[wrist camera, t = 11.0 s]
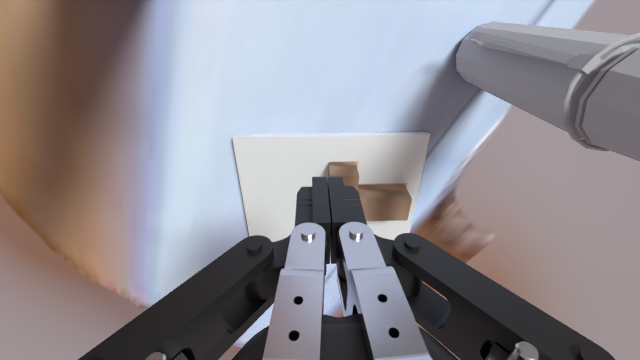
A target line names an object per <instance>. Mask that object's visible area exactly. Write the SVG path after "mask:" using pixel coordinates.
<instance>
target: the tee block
mask: <svg viewBox="0 0 640 360" xmlns="http://www.w3.org/2000/svg"><path fill="white" fill-rule="evenodd" d="M328 176H342V178H343V183H344V186H353V187H354V188H355V189H356V190H357V191H358V192H359V196H360V200H361V203H362V207H363V211H364V215H365V219H366V221H406V220H408V216H409V211H410V206H411V202H412V198H411V196H410V194H409V192H408V190H407V188H406V186H405V184H376V185H359V173H358V169H357V166H356V162H329V169H328Z"/></svg>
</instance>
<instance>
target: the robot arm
mask: <svg viewBox="0 0 640 360" xmlns="http://www.w3.org/2000/svg"><path fill="white" fill-rule="evenodd" d="M296 200H297V201H296V214H295V227H294V229H293V230H292V232H291V234H290V235H289V236H288V237H286V238H284V239H282V240H279V241H275V242H272V241H271V240H270V239H269V238H267V237H265V236H261V235H254V236H250V237H247V238H245V239H243V240H242V241H240V242H239V243H238V244H236V245H235V246H234V247H232V248H231V249H229V250H228V251H227V252H225V253H224V254H223V255H221V256H220V257H218V258H217V259H216V260H214V261H213V262H212V263H210V264H209V265H207V266H206V267H205V268H203V269H202V270H201V271H199V272H198V273H196V274H195V275H194V276H192V277H191V278H190V279H188V280H187V281H185V282H184V283H183V284H181V285H180V286H179V287H177V288H176V289H174V290H173V291H172V292H170V293H169V294H168V295H166V296H165V297H163V298H162V299H161V300H159V301H158V302H157V303H155V304H154V305H152V306H151V307H150V308H148V309H147V310H146V311H144V312H143V313H142V314H140V315H139V316H137V317H136V318H135V319H133V320H132V321H130V322H129V323H128V324H126V325H125V326H124V327H122V328H121V329H119V330H118V331H117V332H115V333H114V334H113V335H111V336H110V337H108V338H107V339H106V340H104V341H103V342H102V343H100V344H99V345H97V346H96V347H95V348H93V349H92V350H91V351H89V352H88V353H86V354H85V355H84V356H82V357H81V358H80V359H78V360H218V359H219V358H220V357H221V356H222V355H223V354H224V353H225V352H226V351H227V350H228V349H229V348H230V347H231V346H232V345H233V344H234V343H235V342H236V341H237V340H238V339H239V338H240V337H241V336H242V335H243V334H244V333H245V332H246V330H247V329H248V328H249V327H250V326H251V325H252V324H253V323H254V322H255V321H256V320H257V319H258V318H259V317H260V316H261V315H262V314H263V313H264V312H265V311H266V310H267V309H268V308H269V307H270V306H271V305H272V304H273V303H274V306H273V310H272V315H271V320H270V325H269V326H268V327H266V328H264V329H263V330H261V331H260V332H258V333H257V334H256V335H254V336H253V337H252V338H251V339H250V340H249V341H248V342H247V343H246V344H245V345H244V346H243V348H242V349H241V350H240V351H239V352H238V353H237V354H236V355H235V357H234V358H233V359H232V360H458V359H457V358H456V357H455V356H454V355H453V354H452V353H454V354H455V355H456V356H457V357H458V358H460V359H461V360H615V359H614V358H613V356H611V355H610V354H609V353H608V352H607V351H606V350H604V349H603V348H602V347H600V346H599V345H597V344H595V343H594V342H592V341H591V340H589V339H587V338H586V337H584V336H582V335H581V334H579V333H578V332H576V331H574V330H573V329H571V328H569V327H568V326H566V325H564V324H563V323H561V322H559V321H558V320H556V319H555V318H553V317H551V316H550V315H548V314H547V313H545V312H543V311H542V310H540V309H538V308H537V307H535V306H534V305H532V304H530V303H529V302H527V301H525V300H524V299H522V298H520V297H519V296H517V295H515V294H514V293H512V292H511V291H509V290H507V289H506V288H504V287H503V286H501V285H499V284H498V283H496V282H494V281H493V280H491V279H490V278H488V277H486V276H485V275H483V274H482V273H480V272H478V271H477V270H475V269H473V268H472V267H470V266H468V265H467V264H465V263H464V262H462V261H460V260H459V259H457V258H455V257H454V256H452V255H451V254H449V253H447V252H446V251H444V250H442V249H441V248H439V247H438V246H436V245H434V244H433V243H431V242H429V241H428V240H426V239H425V238H423V237H421V236H419V235H417V234H413V233H403V234H400V235H398V236H397V237H396V238H395V239H394V240H390V239H386V238H382V237H379V236H377V235H375V234H374V233H373V231H372V229H371V228H370V227H369V226H367V223H366V219H365V215H364V211H363V207H362V203H361V200H360V196H359V192H358V191H357V190H356V189H355V188H354V187H353V186H344V183H343V178H342V176H328V177H312V187H301V188H300V189H299V191H298V192H297V199H296ZM330 255H331V264H336V263H337V283H338V288H339V293H340V299H341V304H342V309H343V314H344V317H341V318H338V317H333V316H328V315H323V309H324V283H325V275H326V264H330ZM422 281H424V282H425V283H427V284H428V285H429V286H431V287H432V288H434V289H435V290H436V291H438V292H439V293H440V294H442V295H443V296H445V297H446V298H447V300H448V301H449V302H448V301H447V300H446V299H444V298H443V297H441V296H440V295H439V294H437V293H436V292H435V291H433V290H432V289H431V288H429V287H428V286H427V285H425V284H424V283H422ZM416 322H417V323H418V324H419V325H421V326H422V327H423V328H424V329H425V330H426V331H428V332H429V333H430V334H431V335H433V336H434V337H435V338H436V339H437V340H439V341H440V342H441V343H442V344H443V345H444V346H445V347H447V348H448V349H449V350H450V351H451V352H452V353H450V352H449V351H448V350H447V349H446V348H445V347H444V346H443V345H441V344H440V343H439V342H438V341H437V340H436V339H435V338H434V337H433V336H431V335H430V334H429V333H427V332H426V331H425V330H423V329H422V328H420V327H418V326H417V323H416Z"/></svg>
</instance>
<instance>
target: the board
mask: <svg viewBox="0 0 640 360" xmlns="http://www.w3.org/2000/svg"><path fill="white" fill-rule="evenodd" d="M429 139H430V134H429V133H428V132H383V133H302V134H234V135H233V137H232V140H233V145H234V151H235V157H236V162H237V168H238V174H239V180H240V185H241V191H242V197H243V202H244V208H245V214H246V220H247V225H248V231H249V237H250V236H254V235H261V236H265V237H267V238H269V239H270V240H271V241H272V242H275V241H279V240H282V239H284V238H286V237H288V236H289V235H290V234H291V232H292V230H293V229H294V227H295V214H296V201H297V200H296V199H297V192H298V191H299V189H300V188H301V187H312V177H328V169H329V162H356V166H357V169H358V173H359V185H376V184H405V186H406V188H407V190H408V192H409V194H410V196H411V198H412V202H411V206H410V211H409V216H408V220H406V221H366V223H367V226H369V227H370V228H371V229H372V231H373V233H374V234H375V235H377V236H379V237H382V238H386V239H390V240H394V239H395V238H396V237H397V236H398V235H400V234H403V233H410V228H411V223H412V219H413V214H414V209H415V205H416V200H417V195H418V191H419V186H420V181H421V177H422V172H423V167H424V163H425V158H426V153H427V148H428V144H429Z"/></svg>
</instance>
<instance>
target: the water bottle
mask: <svg viewBox="0 0 640 360" xmlns="http://www.w3.org/2000/svg"><path fill="white" fill-rule="evenodd" d="M456 70H457V72H458V73H459V74H460V76H461V77H462V78H463V80H464V81H466V82H468V83H470V84H472V85H474V86H476V87H478V88H480V89H482V90H484V91H486V92H488V93H490V94H492V95H494V96H496V97H498V98H500V99H502V100H504V101H506V102H508V103H510V104H512V105H514V106H516V107H518V108H520V109H522V110H524V111H526V112H528V113H530V114H532V115H534V116H536V117H538V118H541V119H543V120H544V121H546V122H548V123H550V124H552V125H554V126H556V127H558V128H560V129H562V130H564V131H566V132H568V133H569V134H570V136H571V138H572V139H573V140H575V141H576V142H578V143H579V144H580V145H582V146H583V147H585V148H588V149H594V150H600V151H613V152H616V153H618V154H621V155H624V156H627V157H629V158H632V159H635V160H637V161H640V33H636V34H633V35H623V34H612V33H602V32H592V31H582V30H572V29H562V28H552V27H542V26H531V25H521V24H511V23H501V22H490V23H487V24H483V25H480V26H477V27H476V28H475V29H473V30H472V31H471V32H470V33H469V34H468V35H467V36H466V37H465V38H464V39H463V40H462V42H461V45H460V47H459V49H458V51H457V53H456ZM580 138H583V140H584V141H583V140H582V139H580Z"/></svg>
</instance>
